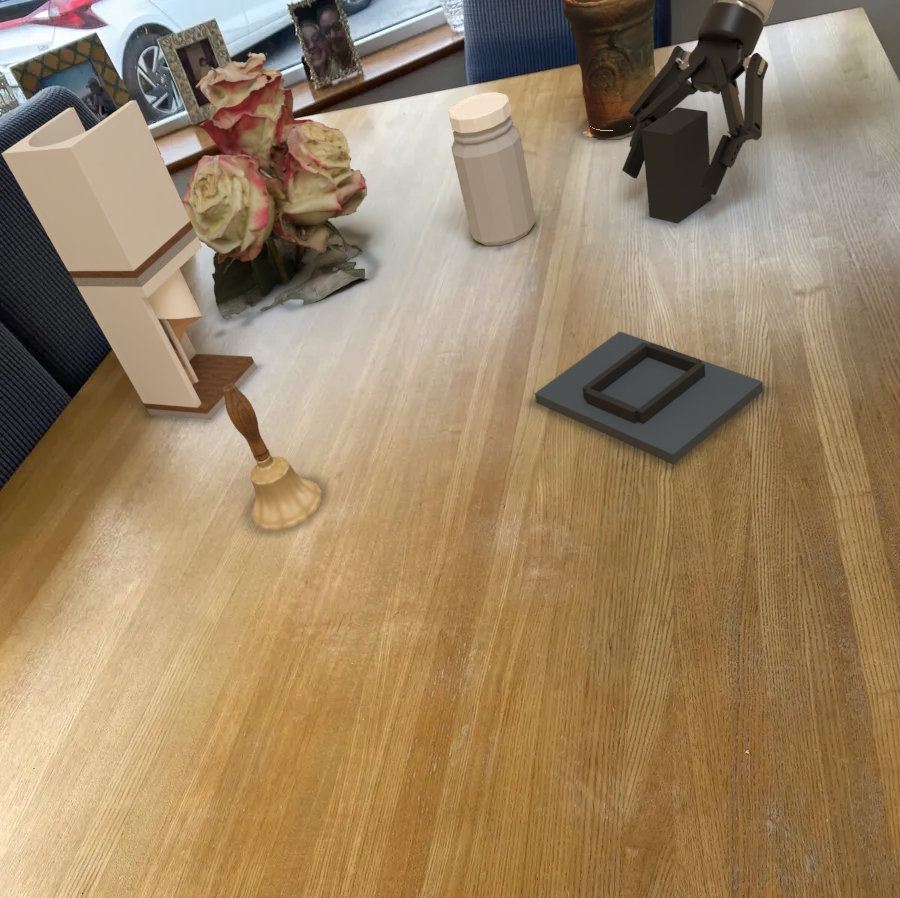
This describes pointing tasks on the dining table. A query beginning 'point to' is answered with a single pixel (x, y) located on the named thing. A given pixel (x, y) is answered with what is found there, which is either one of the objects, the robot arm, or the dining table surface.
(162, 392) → the coffee grinder
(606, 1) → the vessel
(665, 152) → the pad block
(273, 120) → the rose bouquet
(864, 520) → the dining table surface
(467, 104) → the jar
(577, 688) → the dining table surface
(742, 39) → the robot arm
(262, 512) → the hand bell
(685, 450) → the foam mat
